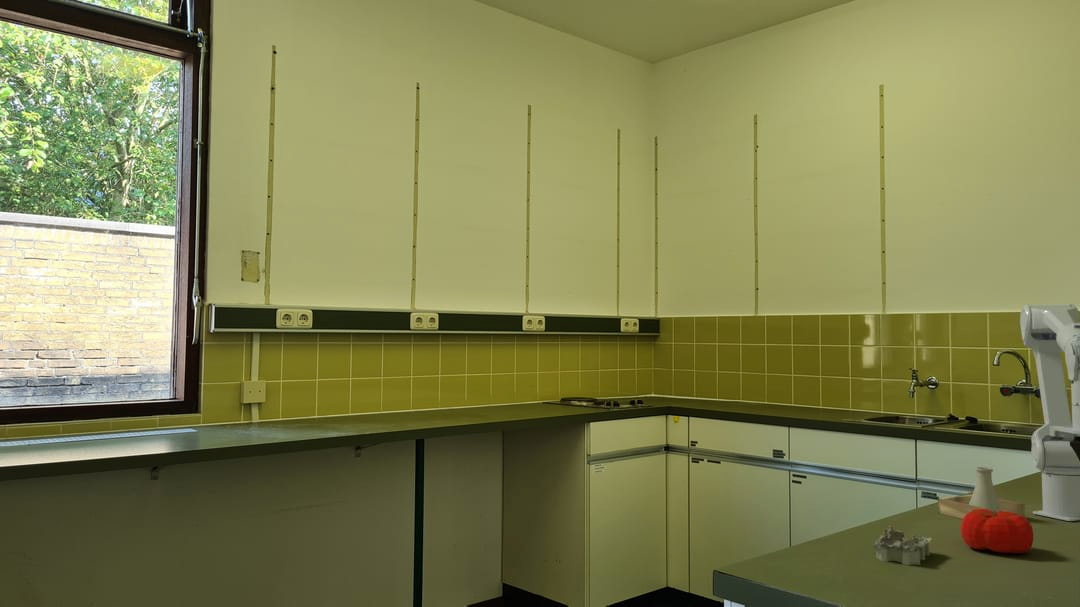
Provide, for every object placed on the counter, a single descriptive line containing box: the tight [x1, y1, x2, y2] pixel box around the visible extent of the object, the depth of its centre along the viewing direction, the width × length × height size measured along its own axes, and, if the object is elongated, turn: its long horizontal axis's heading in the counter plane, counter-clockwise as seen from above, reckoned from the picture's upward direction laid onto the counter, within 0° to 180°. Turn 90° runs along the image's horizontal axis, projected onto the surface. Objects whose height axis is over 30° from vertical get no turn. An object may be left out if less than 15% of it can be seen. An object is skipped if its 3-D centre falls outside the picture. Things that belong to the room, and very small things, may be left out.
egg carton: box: [873, 525, 932, 566], centre depth 134 cm, size 11×8×4 cm
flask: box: [969, 466, 1002, 512], centre depth 164 cm, size 7×7×10 cm
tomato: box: [960, 509, 1035, 555], centre depth 138 cm, size 10×11×6 cm
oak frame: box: [937, 494, 1026, 519], centre depth 164 cm, size 11×11×3 cm
